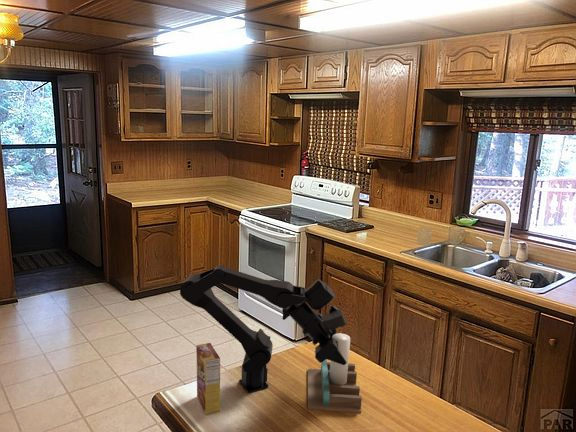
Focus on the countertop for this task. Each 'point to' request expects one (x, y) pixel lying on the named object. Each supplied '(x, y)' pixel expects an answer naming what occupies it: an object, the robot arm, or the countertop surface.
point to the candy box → (208, 378)
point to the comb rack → (333, 391)
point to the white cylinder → (338, 370)
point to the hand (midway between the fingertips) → (344, 359)
